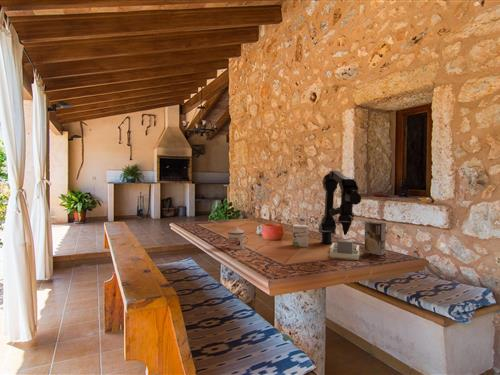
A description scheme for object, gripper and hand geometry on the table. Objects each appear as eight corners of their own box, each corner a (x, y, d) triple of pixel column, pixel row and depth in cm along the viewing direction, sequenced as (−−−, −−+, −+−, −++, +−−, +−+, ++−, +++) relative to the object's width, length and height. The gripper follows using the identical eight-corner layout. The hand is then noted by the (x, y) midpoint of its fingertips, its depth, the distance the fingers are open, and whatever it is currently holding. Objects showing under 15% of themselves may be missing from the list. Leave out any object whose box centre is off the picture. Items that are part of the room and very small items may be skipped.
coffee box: (386, 253, 166) (386, 222, 166) (381, 255, 162) (382, 224, 161) (368, 250, 173) (369, 221, 172) (363, 252, 168) (364, 222, 167)
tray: (332, 252, 166) (332, 248, 166) (359, 255, 162) (359, 250, 162) (329, 257, 157) (329, 252, 157) (358, 260, 152) (358, 255, 152)
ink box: (292, 246, 182) (292, 225, 182) (293, 244, 187) (293, 224, 187) (307, 247, 180) (307, 226, 180) (307, 245, 185) (308, 225, 184)
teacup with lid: (225, 248, 173) (225, 227, 173) (231, 245, 182) (231, 225, 181) (246, 250, 169) (246, 228, 169) (251, 247, 178) (251, 226, 178)
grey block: (338, 253, 163) (338, 239, 162) (352, 254, 160) (352, 240, 160) (337, 255, 158) (337, 240, 158) (351, 257, 156) (352, 242, 155)
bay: (332, 247, 180) (333, 242, 180) (359, 249, 175) (359, 244, 175) (329, 252, 168) (330, 247, 168) (358, 254, 163) (358, 250, 162)
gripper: (332, 200, 173) (332, 228, 174) (328, 203, 156) (327, 235, 157) (354, 201, 169) (353, 230, 170) (351, 204, 152) (350, 237, 153)
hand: (345, 233), depth 162 cm, fingers open, 9 cm apart
